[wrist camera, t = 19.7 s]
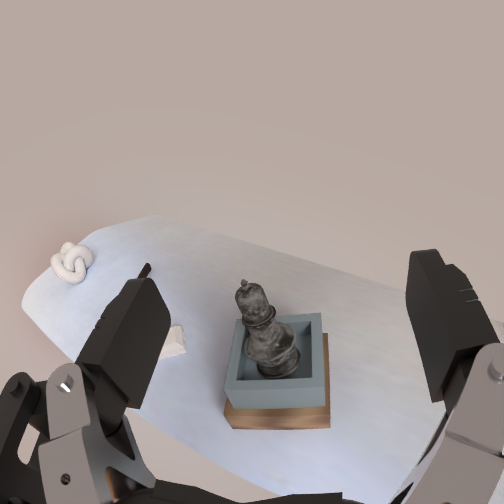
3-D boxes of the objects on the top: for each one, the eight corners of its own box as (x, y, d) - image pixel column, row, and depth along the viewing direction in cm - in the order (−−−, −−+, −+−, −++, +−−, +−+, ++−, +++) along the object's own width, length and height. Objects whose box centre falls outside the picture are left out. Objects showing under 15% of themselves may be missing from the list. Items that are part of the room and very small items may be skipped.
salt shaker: (253, 350, 38) (214, 273, 32) (298, 336, 37) (269, 255, 32) (256, 386, 32) (212, 307, 27) (307, 372, 32) (276, 287, 27)
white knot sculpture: (86, 288, 69) (70, 258, 64) (54, 293, 70) (37, 266, 66) (102, 261, 79) (88, 233, 74) (70, 268, 80) (56, 243, 75)
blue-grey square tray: (322, 336, 39) (320, 312, 37) (325, 406, 31) (324, 386, 28) (245, 341, 42) (237, 319, 39) (234, 408, 33) (223, 389, 31)
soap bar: (187, 353, 47) (181, 343, 46) (137, 367, 46) (129, 357, 45) (184, 332, 51) (178, 322, 50) (137, 346, 50) (130, 336, 49)
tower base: (328, 353, 42) (327, 333, 40) (330, 429, 32) (330, 414, 30) (246, 357, 45) (239, 338, 42) (233, 429, 35) (223, 415, 32)
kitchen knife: (148, 269, 70) (145, 262, 69) (152, 269, 70) (149, 262, 69) (116, 326, 56) (111, 319, 54) (120, 326, 55) (115, 319, 54)
